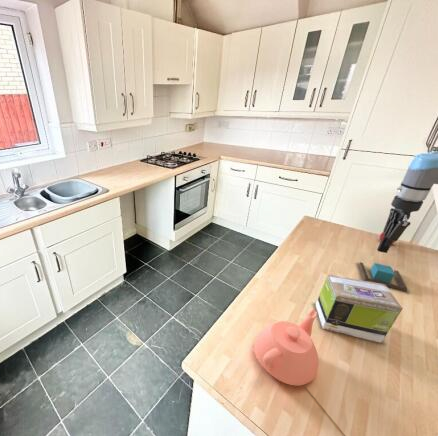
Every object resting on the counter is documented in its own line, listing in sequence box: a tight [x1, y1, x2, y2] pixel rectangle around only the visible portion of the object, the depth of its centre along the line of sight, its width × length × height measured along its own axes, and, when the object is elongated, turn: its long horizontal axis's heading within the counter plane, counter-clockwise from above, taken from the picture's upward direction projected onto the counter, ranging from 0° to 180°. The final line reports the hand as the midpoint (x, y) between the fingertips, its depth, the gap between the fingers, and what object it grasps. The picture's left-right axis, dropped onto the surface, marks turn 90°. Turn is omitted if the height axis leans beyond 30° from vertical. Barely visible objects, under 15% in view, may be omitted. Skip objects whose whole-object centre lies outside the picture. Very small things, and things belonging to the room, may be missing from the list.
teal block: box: [369, 262, 395, 283], centre depth 93 cm, size 5×5×5 cm
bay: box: [358, 261, 408, 293], centre depth 94 cm, size 11×12×2 cm
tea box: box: [315, 274, 403, 343], centre depth 73 cm, size 15×10×15 cm, turn 70°
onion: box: [379, 231, 397, 244], centre depth 112 cm, size 6×6×8 cm
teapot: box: [253, 309, 319, 386], centre depth 64 cm, size 22×15×12 cm
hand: (381, 251), depth 98 cm, fingers closed
